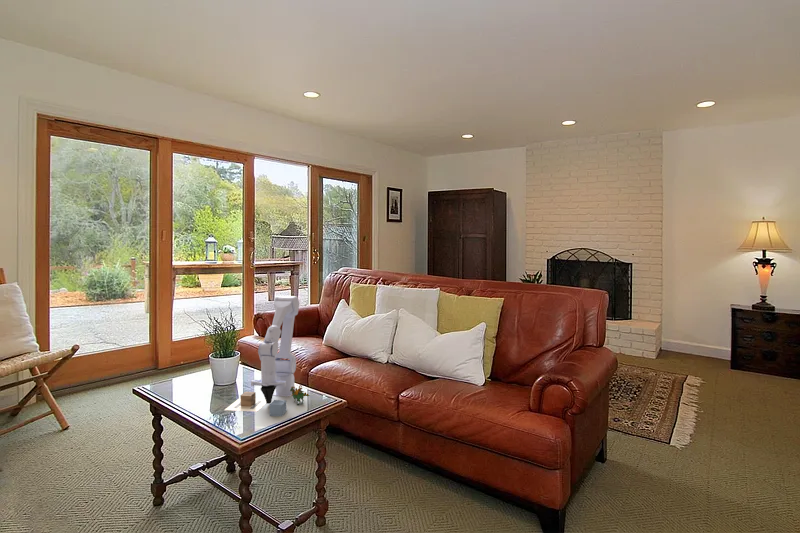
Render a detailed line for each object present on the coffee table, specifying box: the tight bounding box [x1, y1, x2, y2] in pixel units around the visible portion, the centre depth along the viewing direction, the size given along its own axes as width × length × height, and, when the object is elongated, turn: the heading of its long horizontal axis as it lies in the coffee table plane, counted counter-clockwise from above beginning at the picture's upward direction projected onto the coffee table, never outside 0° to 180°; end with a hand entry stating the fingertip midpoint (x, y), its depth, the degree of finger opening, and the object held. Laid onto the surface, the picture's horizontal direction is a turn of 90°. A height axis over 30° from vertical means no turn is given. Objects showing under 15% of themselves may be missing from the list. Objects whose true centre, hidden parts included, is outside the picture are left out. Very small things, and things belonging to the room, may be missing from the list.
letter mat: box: [224, 397, 266, 413], centre depth 186 cm, size 14×14×1 cm
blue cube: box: [269, 399, 287, 417], centre depth 176 cm, size 5×5×5 cm
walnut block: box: [239, 391, 257, 407], centre depth 186 cm, size 4×4×4 cm
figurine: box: [289, 384, 311, 406], centre depth 188 cm, size 3×12×8 cm, turn 55°
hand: (268, 402), depth 185 cm, fingers closed
